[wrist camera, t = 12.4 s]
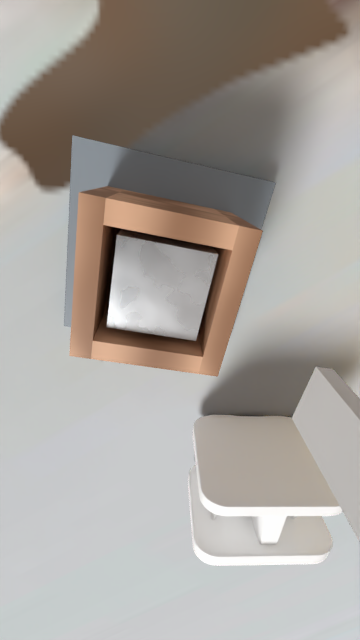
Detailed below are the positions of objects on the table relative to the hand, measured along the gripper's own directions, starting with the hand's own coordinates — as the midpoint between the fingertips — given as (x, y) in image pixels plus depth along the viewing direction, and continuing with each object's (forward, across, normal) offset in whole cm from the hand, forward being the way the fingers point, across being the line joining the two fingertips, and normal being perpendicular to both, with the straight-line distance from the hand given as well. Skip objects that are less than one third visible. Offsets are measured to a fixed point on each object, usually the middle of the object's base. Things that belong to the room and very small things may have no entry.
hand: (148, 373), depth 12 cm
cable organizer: (+18, +16, -22) cm, 33 cm away
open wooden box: (+17, +1, 0) cm, 17 cm away
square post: (+17, +1, 0) cm, 17 cm away
